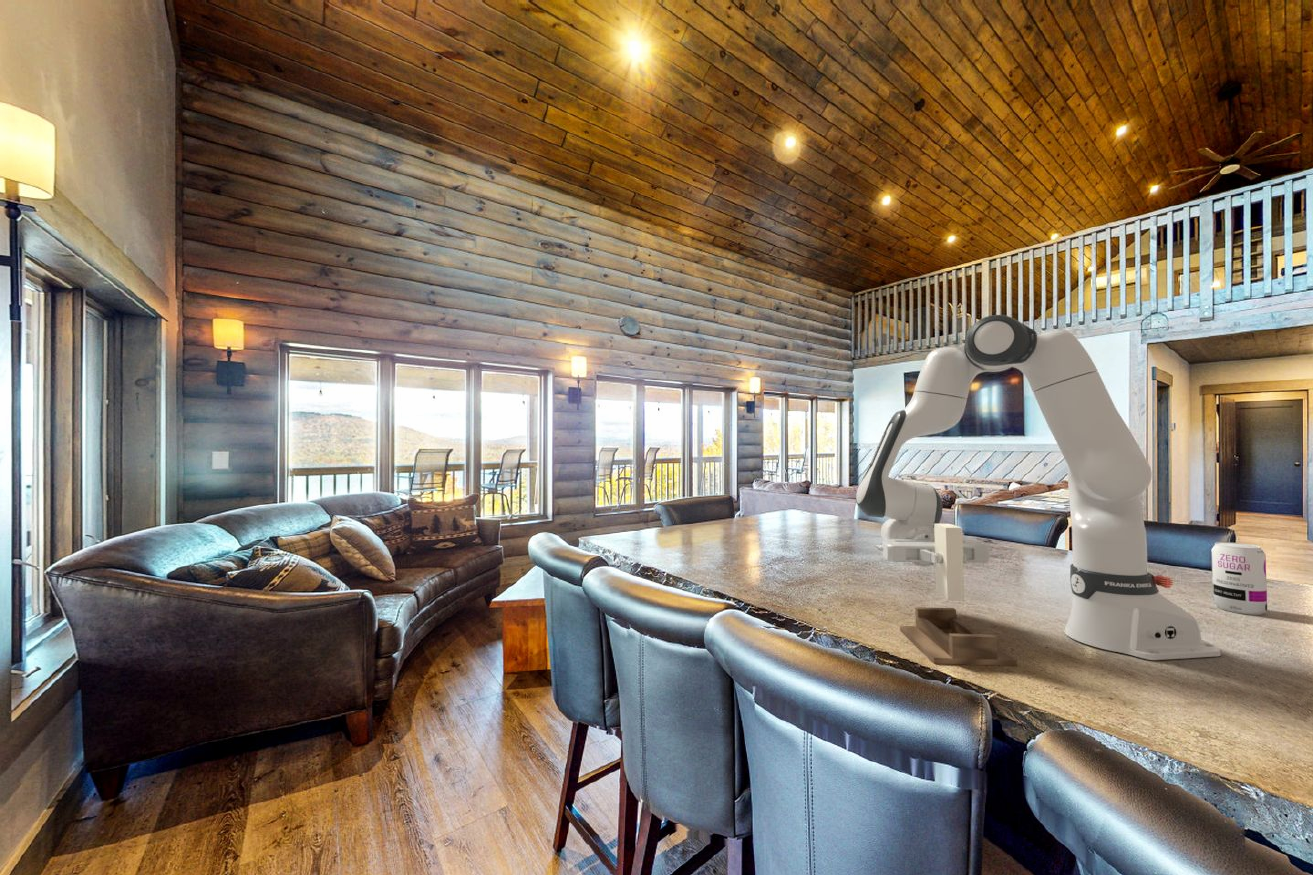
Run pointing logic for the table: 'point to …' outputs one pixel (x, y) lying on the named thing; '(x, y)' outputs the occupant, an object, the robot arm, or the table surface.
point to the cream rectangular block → (949, 562)
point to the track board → (953, 640)
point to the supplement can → (1239, 578)
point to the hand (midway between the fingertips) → (950, 559)
